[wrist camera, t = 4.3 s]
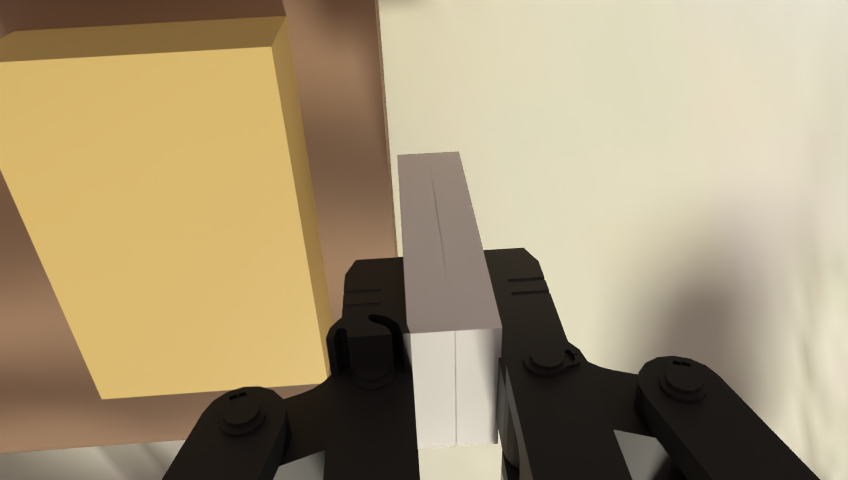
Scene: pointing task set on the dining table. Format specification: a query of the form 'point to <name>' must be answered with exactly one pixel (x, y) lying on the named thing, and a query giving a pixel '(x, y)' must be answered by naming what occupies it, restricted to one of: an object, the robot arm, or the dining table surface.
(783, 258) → the dining table surface
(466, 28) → the dining table surface
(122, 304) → the yellow flat block
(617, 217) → the dining table surface
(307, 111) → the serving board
